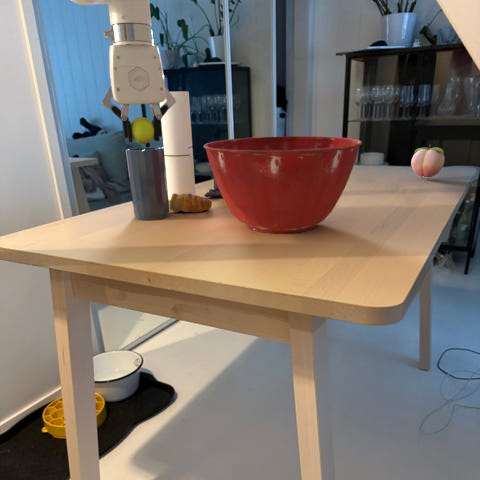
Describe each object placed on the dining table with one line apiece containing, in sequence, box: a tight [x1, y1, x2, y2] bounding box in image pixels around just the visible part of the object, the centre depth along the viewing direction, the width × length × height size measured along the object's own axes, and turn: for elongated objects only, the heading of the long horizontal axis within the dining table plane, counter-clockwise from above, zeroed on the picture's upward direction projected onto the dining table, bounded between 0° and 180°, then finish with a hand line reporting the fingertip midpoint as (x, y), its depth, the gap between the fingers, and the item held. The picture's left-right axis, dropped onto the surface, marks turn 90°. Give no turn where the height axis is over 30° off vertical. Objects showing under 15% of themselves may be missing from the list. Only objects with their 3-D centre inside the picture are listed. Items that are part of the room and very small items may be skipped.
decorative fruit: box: [410, 143, 445, 178], centre depth 136 cm, size 9×8×10 cm
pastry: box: [169, 193, 213, 213], centre depth 105 cm, size 9×7×4 cm
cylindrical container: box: [159, 90, 197, 201], centre depth 115 cm, size 7×7×25 cm
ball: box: [130, 116, 155, 145], centre depth 93 cm, size 5×5×5 cm
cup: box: [125, 146, 171, 221], centre depth 98 cm, size 8×8×14 cm
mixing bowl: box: [203, 135, 363, 234], centre depth 87 cm, size 28×28×16 cm
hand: (143, 140), depth 94 cm, fingers closed on ball, 4 cm apart
